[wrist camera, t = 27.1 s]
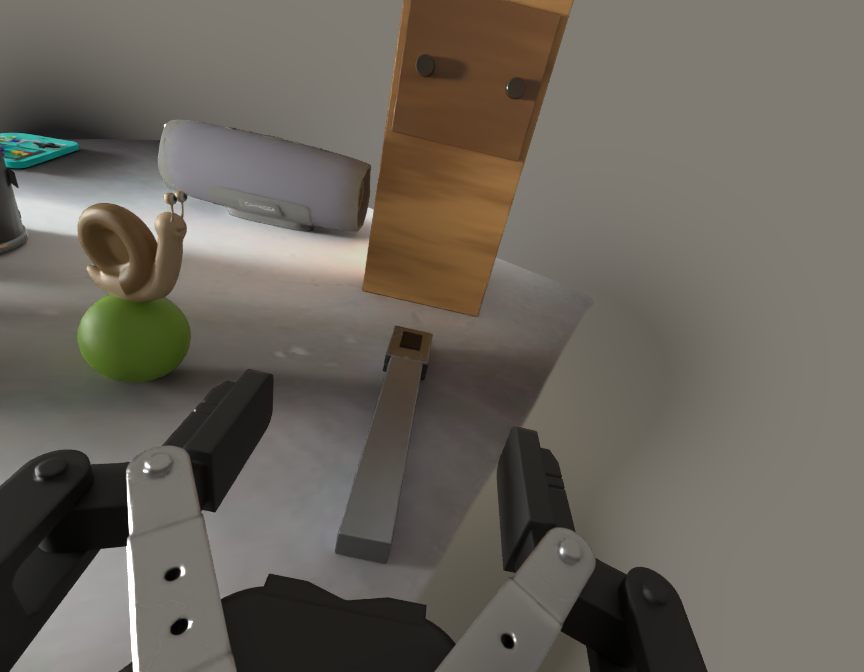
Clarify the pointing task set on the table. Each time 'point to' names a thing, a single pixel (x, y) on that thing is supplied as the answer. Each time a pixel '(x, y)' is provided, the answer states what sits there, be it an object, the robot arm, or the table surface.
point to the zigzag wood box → (457, 143)
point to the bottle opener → (385, 451)
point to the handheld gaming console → (32, 149)
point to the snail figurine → (133, 293)
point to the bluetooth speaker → (265, 176)
